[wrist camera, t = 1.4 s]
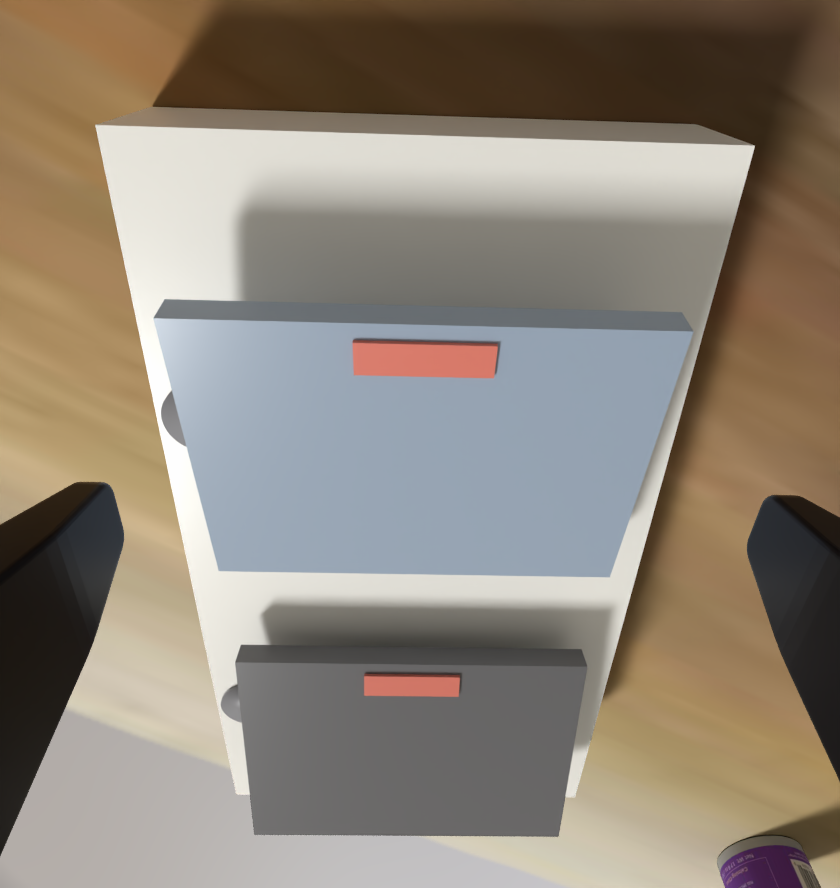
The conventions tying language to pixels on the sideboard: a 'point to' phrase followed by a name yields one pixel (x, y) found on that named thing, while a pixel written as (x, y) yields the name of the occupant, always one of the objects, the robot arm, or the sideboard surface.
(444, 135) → the white long base
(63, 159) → the sideboard surface
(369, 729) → the rocker charcoal
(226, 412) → the plate
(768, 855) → the container
